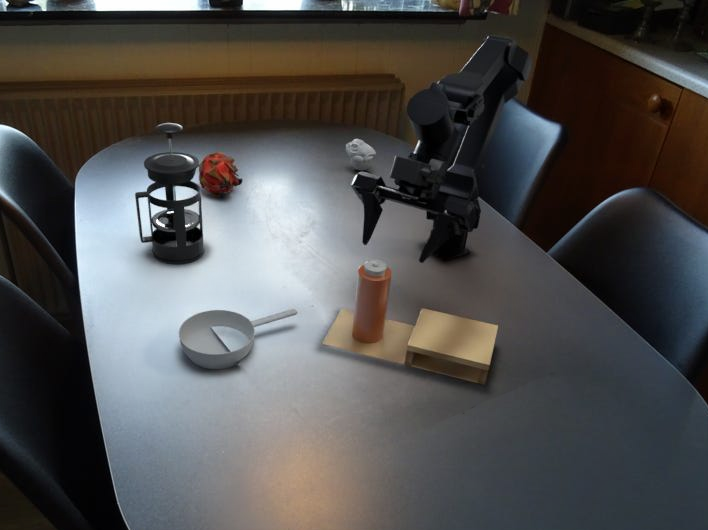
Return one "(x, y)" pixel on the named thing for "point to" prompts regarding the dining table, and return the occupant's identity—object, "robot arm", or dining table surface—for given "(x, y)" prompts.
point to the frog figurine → (360, 154)
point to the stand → (426, 343)
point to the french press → (173, 205)
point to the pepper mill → (371, 301)
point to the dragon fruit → (218, 174)
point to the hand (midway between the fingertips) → (391, 253)
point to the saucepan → (207, 344)
